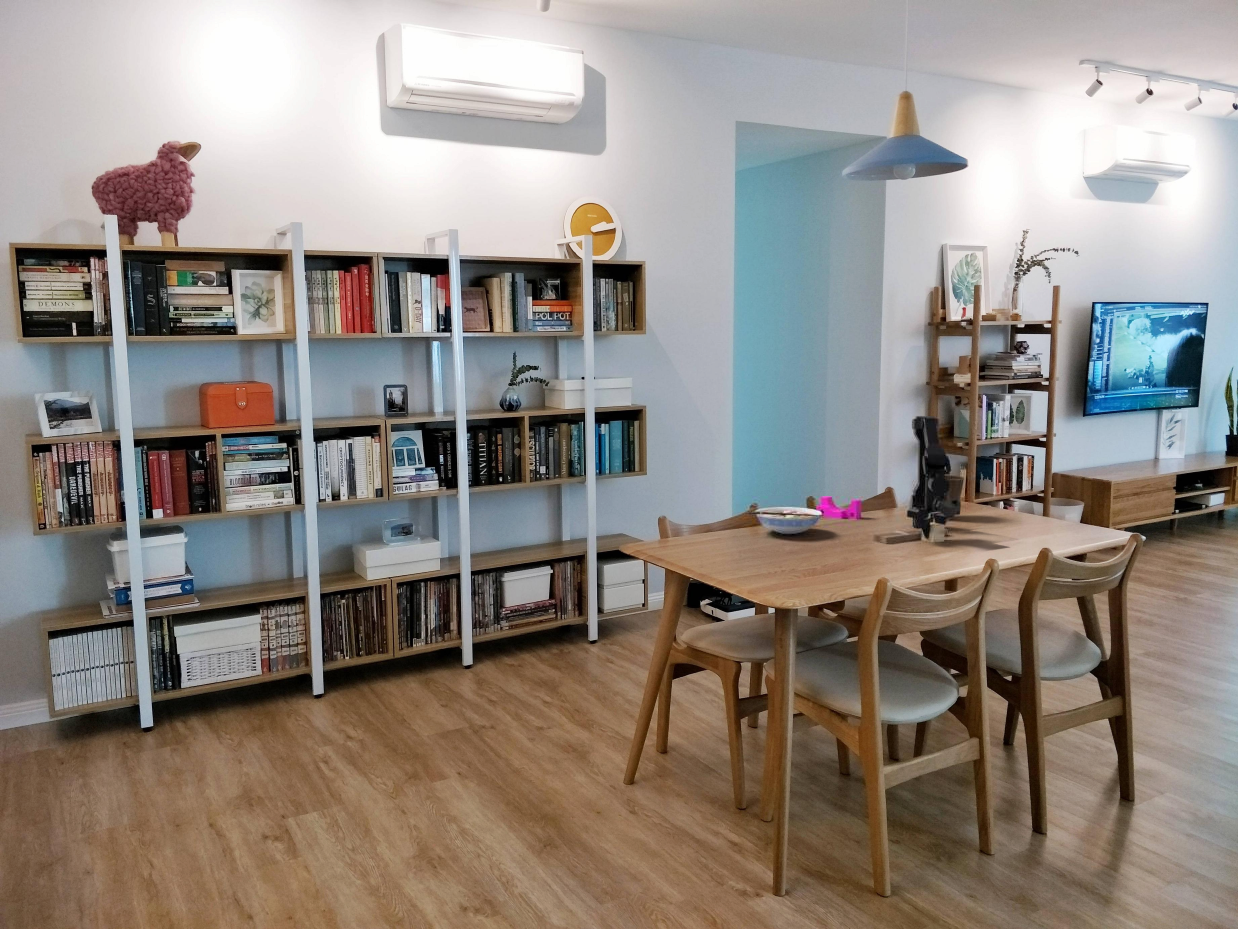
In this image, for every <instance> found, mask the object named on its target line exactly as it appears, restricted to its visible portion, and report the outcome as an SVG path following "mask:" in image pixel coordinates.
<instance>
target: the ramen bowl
mask: <svg viewBox="0 0 1238 929" xmlns="http://www.w3.org/2000/svg"><path fill="white" fill-rule="evenodd" d="M748 514H749V515H756V516H757V518H758V520H759V521H760V523H761V524H762V525H763V527H765V528H767V529H769V530H771V531H773V532H776V533H777V532H778V533H783V534H796V535H798V534H797V533H799V534H800V533H803V532H806V531H808V530H811V528H813V527H815V526H816V525H817V524H818V522H819V520H820V519H821V517H822V516H824V515H822V513H821V511H817V509H813V508H806V507H794V506H777V507H775V506H774V507H765V508H759V509H756V510H753V511H752V510H749V511H748ZM778 533H777V534H778Z"/></svg>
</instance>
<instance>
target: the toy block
mask: <svg viewBox="0 0 1238 929" xmlns="http://www.w3.org/2000/svg"><path fill="white" fill-rule="evenodd" d="M821 504H822V505H821ZM816 510H817V511H821V513H822V515H824V516H821V517H824V518H831V519H838V518H839V519H840V520H842V518H843V519H851V520H857V519H858V520H859V519H861V518H862V499H858V498H857V499H853V500H851V502H850V505H849V506H848V507H847V509H841V508H839V507H838V506H837V505H836V504H835V502H834V500H833V496H829V495H824V496H821V497H820V504H818V505H817V506H816Z"/></svg>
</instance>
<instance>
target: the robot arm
mask: <svg viewBox="0 0 1238 929" xmlns="http://www.w3.org/2000/svg"><path fill="white" fill-rule="evenodd" d="M911 428H912V430H913V436H914V437H915V438H916V441H917V484H916V485H915V487H914V488H913V490H912V495H911V497H910V500H909V508H908V510H907V511H906V517H907V518H910V519H911V518H912V526H913V527H914V528H913V529H915V528H916V529H922V531H923V534H924V536H925V538H927V539H928V538H929V532H930V523H939V524H944V525H945V526H946V524H947V522H948V521H950V520H949V519H950V518H953V519H954V517H953V516H959V515H961V508H962V503H961V502H962V501H960V500H953V501H949V500H947V495H946V493H947V492H948V490H949V488H950V485H949V482H948V480H947V479H945V475H950V473H951V472H952V467H951V461H950V459H949V458H950V457H949V456H948V455H947V452H946V449H945V448H943V447H942V446H941V442H940V438H939V437H940V436H939V433H938V432H939V431H938V430H939V429H940V418H937V417H935V416H934V415H932V416H931V415H929V416H927V415H916V416H915V418H912V420H911ZM933 514H934V519H933ZM951 515H953V516H951Z"/></svg>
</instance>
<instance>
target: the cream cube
mask: <svg viewBox="0 0 1238 929" xmlns="http://www.w3.org/2000/svg"><path fill="white" fill-rule="evenodd" d="M945 526H946V524H945V525H944V524H939V523H935V522H933V523H930V532H929V538H928V539H927V538H925V536H924V534H923V531H922V532H919V539H918V540H919V541H924V542H927V543H928V542H929V543H932V544H934V543H941V542H942V543H943V542H945V536H944V532H945V529H946V528H945Z"/></svg>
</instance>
